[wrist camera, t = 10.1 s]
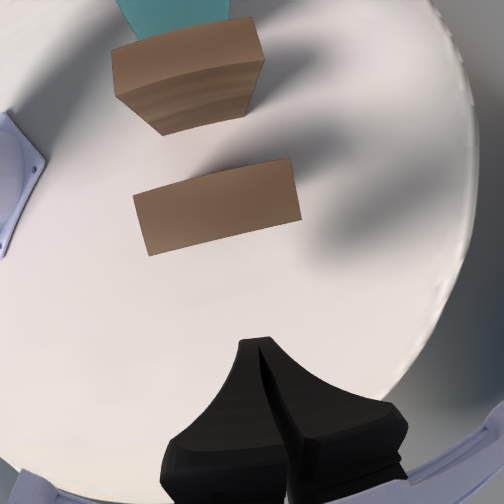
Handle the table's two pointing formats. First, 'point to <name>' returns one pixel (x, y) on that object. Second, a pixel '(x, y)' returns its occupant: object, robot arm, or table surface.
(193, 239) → the domino
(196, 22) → the domino
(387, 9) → the table surface
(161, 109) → the domino
